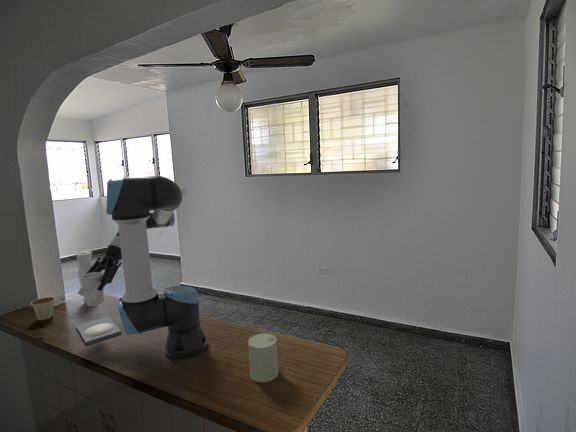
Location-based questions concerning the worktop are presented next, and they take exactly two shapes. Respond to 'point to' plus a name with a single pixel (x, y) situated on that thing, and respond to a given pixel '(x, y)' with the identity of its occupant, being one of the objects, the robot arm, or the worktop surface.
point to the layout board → (98, 330)
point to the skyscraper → (84, 264)
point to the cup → (92, 287)
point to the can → (263, 357)
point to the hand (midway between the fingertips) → (86, 296)
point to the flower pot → (43, 307)
